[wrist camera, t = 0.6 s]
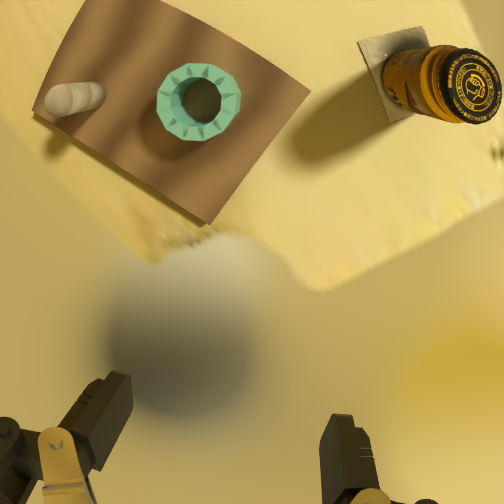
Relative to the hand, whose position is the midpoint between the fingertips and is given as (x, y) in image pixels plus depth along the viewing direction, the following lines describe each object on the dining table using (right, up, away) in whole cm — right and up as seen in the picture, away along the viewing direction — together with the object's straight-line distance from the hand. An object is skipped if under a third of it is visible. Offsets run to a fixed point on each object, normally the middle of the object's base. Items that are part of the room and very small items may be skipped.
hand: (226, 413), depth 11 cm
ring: (-3, +20, +15) cm, 25 cm away
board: (-8, +21, +16) cm, 28 cm away
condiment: (+16, +23, +13) cm, 31 cm away
